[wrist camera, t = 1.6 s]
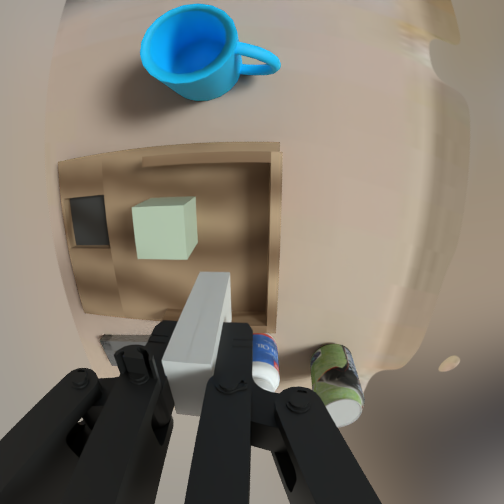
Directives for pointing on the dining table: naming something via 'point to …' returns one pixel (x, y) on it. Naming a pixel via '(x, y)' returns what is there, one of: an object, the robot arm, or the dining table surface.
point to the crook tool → (120, 343)
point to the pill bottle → (265, 362)
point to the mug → (200, 52)
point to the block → (165, 228)
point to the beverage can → (337, 383)
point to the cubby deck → (208, 228)
